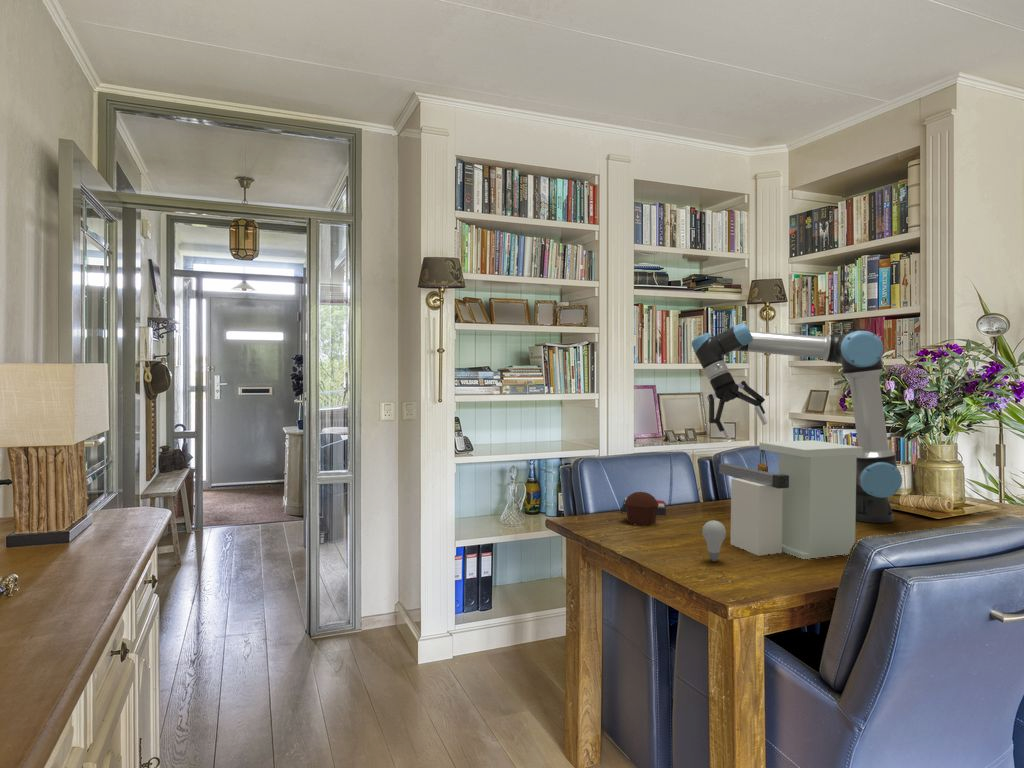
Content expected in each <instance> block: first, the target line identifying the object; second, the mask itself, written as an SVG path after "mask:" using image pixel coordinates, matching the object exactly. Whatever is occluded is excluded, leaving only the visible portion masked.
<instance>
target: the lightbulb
mask: <svg viewBox="0 0 1024 768" xmlns="http://www.w3.org/2000/svg"><path fill="white" fill-rule="evenodd" d="M701 530H702V532H701V533H702V536H703V538H704V540H705V542H706V546H707V551H708V559H709V560H710V561H712V562H716V561H718V560H719V558H720V553H721V547H722V544H723V542H724V541H725V538H726V537H727V530H726V527H725V525H724V524H723V523H722V522H720V521H718V520H713V519H712V520H709V521H707V522H705V524H704V525H703V527H702V529H701Z"/></svg>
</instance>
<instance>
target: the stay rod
mask: <svg viewBox="0 0 1024 768" xmlns="http://www.w3.org/2000/svg"><path fill="white" fill-rule="evenodd" d="M718 468H719V469H718V471H719V474H721V475H724V476H729V477H733V478H740V479H744V480H748V481H751V482H755V483H759V484H763V485H767V486H771V487H774V488H778V489H780V488H789V475H785V474H779V473H774V472H773V473H772V472H769V471H768V472H764V471H760V470H758V469H756V468H755V469H754V468H751V467H746V466H741V465H738V464H737V465H736V464H732V463H726V462H725V463H719V467H718Z"/></svg>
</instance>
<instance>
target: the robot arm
mask: <svg viewBox="0 0 1024 768" xmlns="http://www.w3.org/2000/svg"><path fill="white" fill-rule="evenodd" d="M691 347H692V349H693V352H694V354H695V355H696V358H697V359H698V360H697V361H698V362H699V363H700V365H701V367H702V369H703V372H704V373H705V376H706V377H707V379H708V380H709V383H710V385H711V387H712V389H713V392H714V393H712V394H711V393H710V394H708V395H707V400H708V423H709V424H716V426H717V428H718V431H719V432H720V433H722V432H723V435H724V437H725V439H726V441H729V440H730V439H732V436H731V434H730V433H729V431H728V429H727V426H726V424H725V422H724V420H721V417H722V413H723V410H724V407H725V403H728V402H730V401H733V400H735V399H736V398H737V399H740V400H742V401H744V402H747V403H748V404H751V405H753V406H754V410H755V412H756V414H757V416H758V418H759V420H760V421H761V424H762V425H763V426H765V425H767V424H768V423H769V422H768V420H767V419H766V416H765V415H766V412H765V409H764V407H763V405H762V404H763V403H765V400H766V399H765V398H764V397H763V396H762V395H760V394H759V393H758V392H757V391H755V390H754V389H752V387H750V386H749V385H748V383H746V381H745V380H742V381H741V382H739V383H738V384H737V383H736V381H735V380H734V377H733V376H732V373H731V372H729V368H728V366H727V364H726V362H725V360H724V358H723V356H725V355H727V354H730V353H731V352H735V351H736V352H749V353H760V354H769V355H781V356H793V357H803V358H804V357H805V358H816V359H822V360H824V362H827V363H828V362H829V363H836V364H839V365H841V370H842V375H843V376H844V377H846V378H847V379H848V381H849V382H848V383H849V389H850V395H851V396H850V397H851V403H852V408H853V409H852V410H853V417H854V418H853V419H854V424H855V431H856V439H857V445H858V446H857V447H862V454H859V455H857V458H856V517H855V522H856V521H857V522H862V523H863V522H864V523H874V524H888V523H889V524H890V523H892V522H894V513H893V509H892V506H891V504H890V501H889V497H892V496H893V495H895V494H896V493H897V492H898V491H899V490H900V489H901V488H902V485H903V477H902V474H901V472H900V470H899V468H898V465H897V463H898V462H897V458H896V453H895V452H894V451H893V450H891V449H890V447H889V446H890V445H889V440H888V433H887V428H886V427H887V426H886V420H885V412H884V405H883V398H882V389H881V384H880V378H879V377H880V374H881V373H882V372H883V370H884V367H883V354H884V344H883V342H882V340H881V339H880V337H878V335H876V334H875V333H873V332H871V331H868V330H856V331H852V332H850V333H844V334H830V333H829V334H827V335H825V336H819V335H817V336H816V335H806V334H805V335H804V334H803V335H801V334H793V333H792V334H790V333H778V332H777V333H776V332H766V331H752V330H749V327H748V326H747V324H746V323H745V322H741V323H738V324H736V325H733V326H732V327H730V328H728V329H726V330H724V331H722V332H720V333H718V334H716V335H713V336H712V334H711V333H709V332H705V333H703V334H701V335H698V336H697V337H695V338H694V339H693V340H692V341H691ZM739 388H740V390H741V389H742V390H743V391H745V393H747V394H748V395H747V394H744V393H743V392H741V391H739ZM716 398H717V399H719V401H718V402H719V403H718V407H717V409H716V414H715V400H716ZM764 414H765V415H764Z"/></svg>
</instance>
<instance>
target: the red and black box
mask: <svg viewBox="0 0 1024 768" xmlns="http://www.w3.org/2000/svg"><path fill="white" fill-rule="evenodd" d="M626 499H627V497H625V499H623V503H622V512H627V511H626V505H625V500H626ZM656 501H657V502H658V504H659V505H658V508H657V514H656V516H662V515H665V516H666V509H667V508H666V506H667V505H666V502H665V501H664V500H658V499H656Z"/></svg>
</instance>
